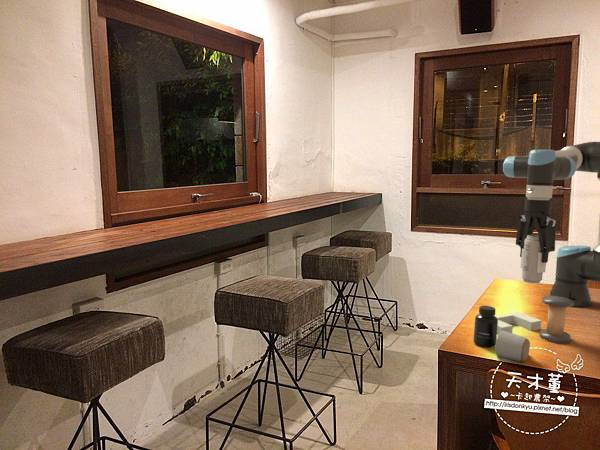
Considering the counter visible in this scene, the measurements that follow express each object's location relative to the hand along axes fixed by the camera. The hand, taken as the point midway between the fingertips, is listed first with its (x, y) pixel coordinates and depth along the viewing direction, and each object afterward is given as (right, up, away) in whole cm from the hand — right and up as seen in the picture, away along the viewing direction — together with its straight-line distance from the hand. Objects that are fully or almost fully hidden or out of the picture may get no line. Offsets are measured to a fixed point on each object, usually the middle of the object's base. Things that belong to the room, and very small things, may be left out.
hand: (532, 269), depth 160 cm
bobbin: (+8, -23, +3) cm, 24 cm away
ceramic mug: (-12, -25, -12) cm, 30 cm away
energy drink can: (0, -4, +1) cm, 4 cm away
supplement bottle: (-16, -24, -3) cm, 29 cm away
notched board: (-2, -21, +12) cm, 25 cm away
